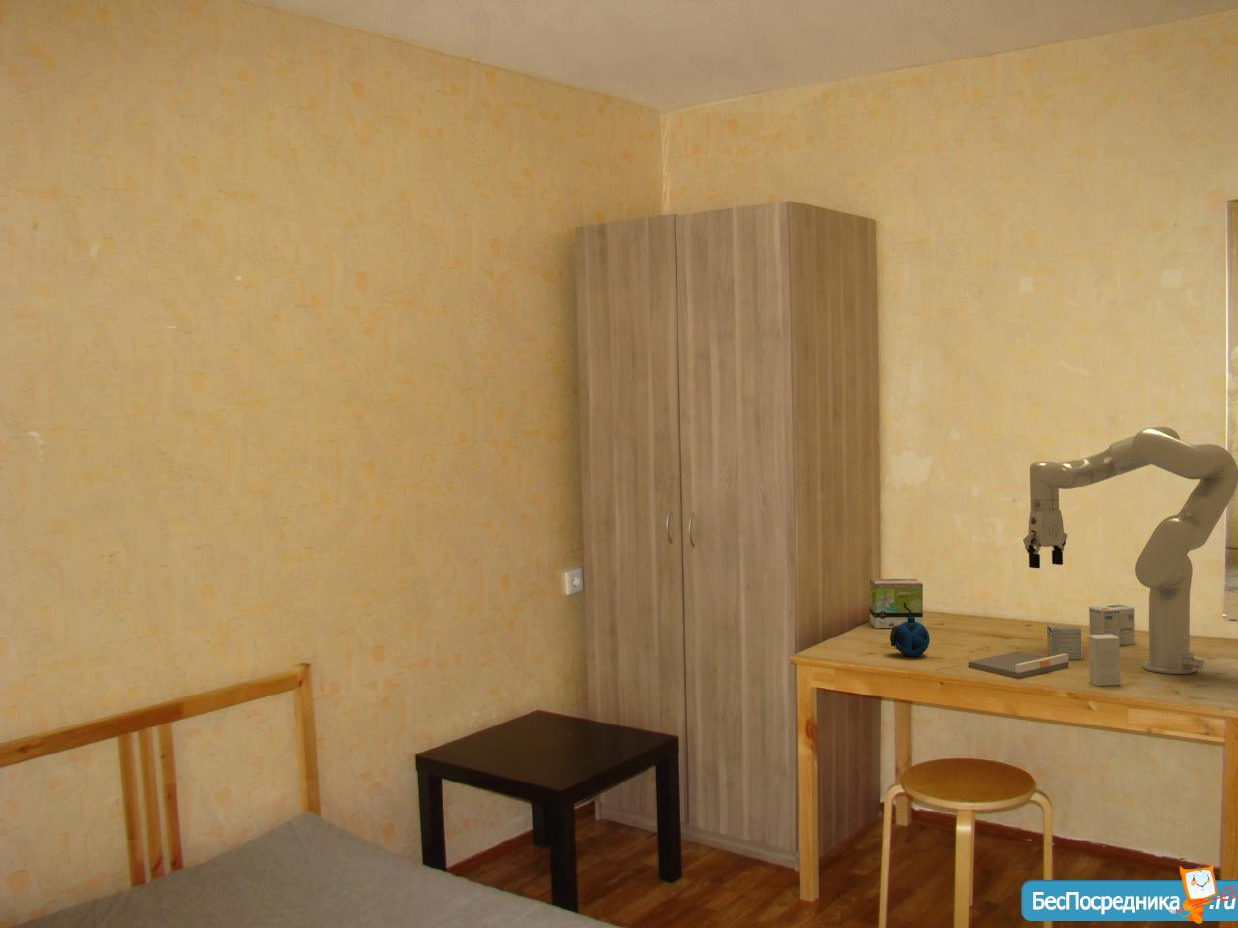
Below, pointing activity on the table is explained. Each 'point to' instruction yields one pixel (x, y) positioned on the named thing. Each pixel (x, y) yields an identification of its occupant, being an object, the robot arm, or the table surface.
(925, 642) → the bomb
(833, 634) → the table surface
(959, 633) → the table surface
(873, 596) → the tea box
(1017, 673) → the shelf board
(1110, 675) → the skincare box
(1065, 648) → the medicine box
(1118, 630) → the light bulb box
